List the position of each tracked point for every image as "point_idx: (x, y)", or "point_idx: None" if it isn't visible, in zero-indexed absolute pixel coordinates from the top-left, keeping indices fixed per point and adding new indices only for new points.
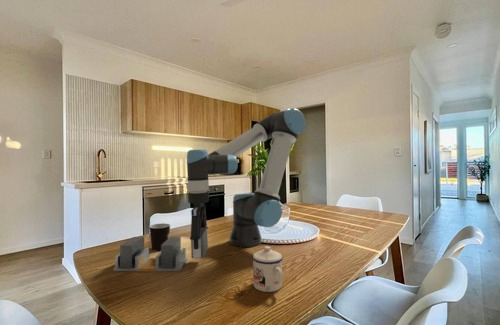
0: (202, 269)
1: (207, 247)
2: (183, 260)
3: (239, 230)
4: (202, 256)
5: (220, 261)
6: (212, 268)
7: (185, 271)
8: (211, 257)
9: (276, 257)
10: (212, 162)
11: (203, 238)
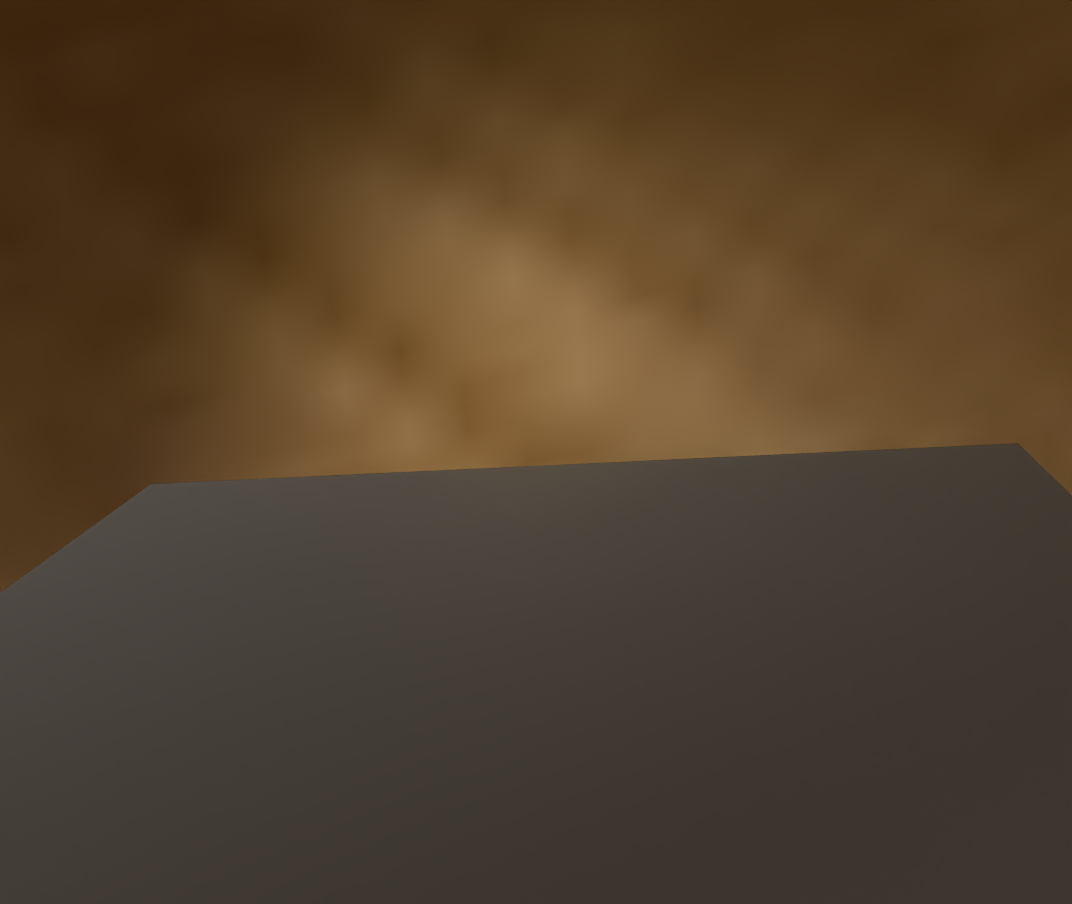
0: (896, 382)
1: (184, 494)
2: None
3: None
4: (1036, 476)
5: (379, 40)
6: (836, 149)
7: None
8: (171, 333)
9: None
10: None
11: (1032, 841)
